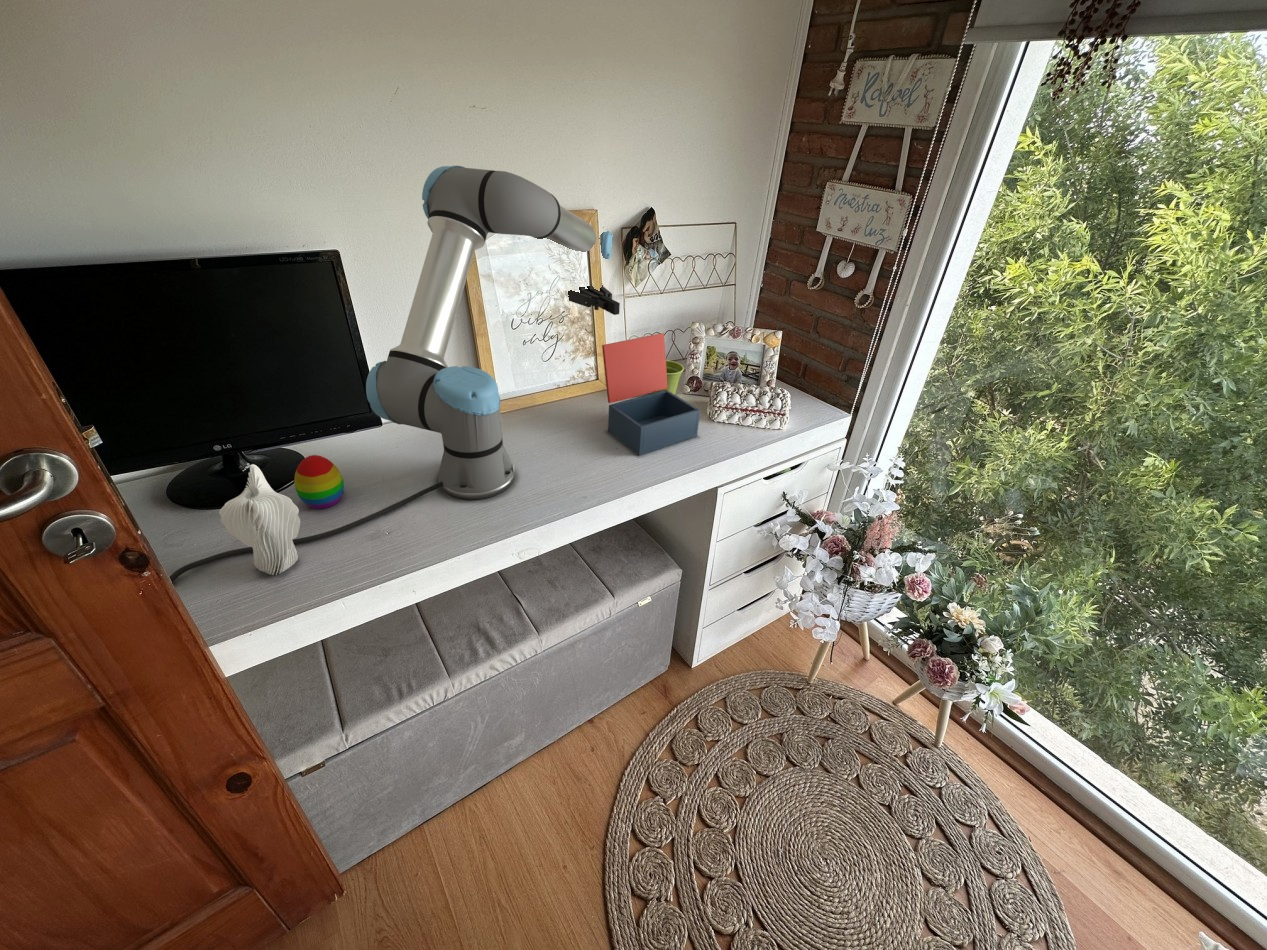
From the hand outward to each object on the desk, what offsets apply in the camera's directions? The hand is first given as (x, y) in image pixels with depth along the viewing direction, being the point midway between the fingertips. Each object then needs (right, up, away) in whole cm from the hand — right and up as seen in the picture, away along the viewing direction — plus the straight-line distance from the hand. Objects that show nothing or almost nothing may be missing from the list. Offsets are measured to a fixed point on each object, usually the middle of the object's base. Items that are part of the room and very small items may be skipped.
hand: (616, 309), depth 140 cm
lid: (+5, -14, 0) cm, 15 cm away
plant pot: (+12, -18, +22) cm, 31 cm away
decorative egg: (-56, -45, -27) cm, 77 cm away
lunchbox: (+9, -30, +3) cm, 31 cm away
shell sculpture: (-55, -56, -42) cm, 89 cm away
